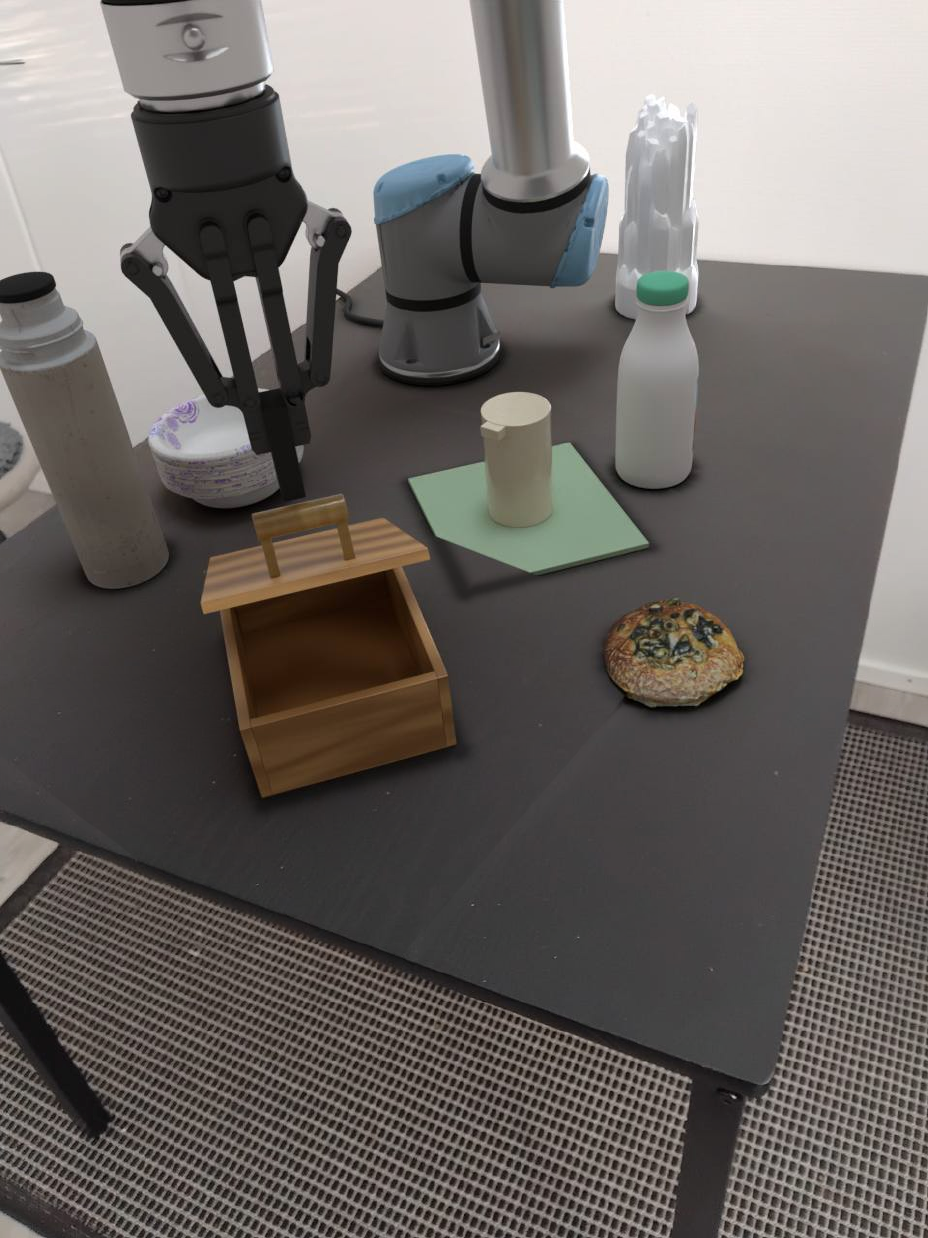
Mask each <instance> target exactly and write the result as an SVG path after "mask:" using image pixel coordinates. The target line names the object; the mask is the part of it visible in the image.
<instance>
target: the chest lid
mask: <svg viewBox="0 0 928 1238" xmlns="http://www.w3.org/2000/svg"><path fill="white" fill-rule="evenodd" d="M349 515H350V514H349V510H348V506H347V503H346V499H345V496H344V494H343V493H338V494H334V495H329V496H325V497H321V498H315V499H312V500H307V501H302V502H298V503H294V504H289V505H285V506H281V507H276V508H271V509H267V510H262V511H259V512H253V513H251V518H252V519H251V520H252V523H253V527H254V530H255V535H256V538H257V541H258V542H260V544H261V545H258V546H254V547H249V548H244V549H241V550H237V551H233V552H228V553H224V554H219V555H215V556H211V557H209V562H208V566H207V570H206V575H205V579H204V584H203V589H202V594H201V599H200V606H201V610H202V613H203V615H207V614H211V613H216V612H220V610H224V609H228V608H232V607H237V606H241V605H245V604H249V603H253V602H257V601H261V600H266V599H270V598H274V597H278V596H282V595H286V594H290V593H295V592H299V591H303V590H307V589H311V588H315V587H319V586H324V585H328V584H332V583H336V582H340V581H344V580H348V579H352V578H357V577H361V576H365V575H369V574H373V573H377V572H381V571H386V570H390V569H394V568H398V567H402V568H403V567H407V566H410V565H414V564H418V563H419V564H420V563H423V562H427V561H430V560H431V555H430V552H429V548H428V547H427V546H426V545H424V544H423V543H421V542H420V541H418V540H417V539H416V538H414V537H412V536H411V535H409V534H408V533H407V532H405V531H403V530H402V529H400V528H399V527H397V526H396V525H395V524H394V523H392V522H391V521H389V520H388V519H386V518H384V517H379V518H374V519H370V520H366V521H362V522H358V523H353V524H349V523H348V521H349V519H350V516H349ZM330 525H335V526H336V528H331V529H327V530H323V531H318V532H314V533H310V534H306V535H302V536H297V537H293V538H288V539H284V540H279V541H275V542H273V539H275V538H279V537H282V536H286V535H292V534H297V533H300V532H306V531H308V530H314V529H317V528H322V527H326V526H330Z"/></svg>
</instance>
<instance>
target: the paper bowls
mask: <svg viewBox="0 0 928 1238" xmlns="http://www.w3.org/2000/svg"><path fill="white" fill-rule="evenodd" d="M268 390H269V389H266V388H259V387H258V391H259V392H263V391H268ZM147 443H148V446H149V448H150V451H151V454H152V458H153V462H154V464H155V466H156V469H157V473H158V475H159V478H160V480H161V482H162V484H163V486H164V487H165V488H166V489H168V490H169V491H171V492H172V493H174V494H176V495H179V496H181V497H185V498H190V499H193V500H194V501H195V502H197V503H199V504H201V505H202V506H206V507H209V508H215V509H233V508H234V509H236V508H241V507H246V506H250V505H253V504H256V503H259V502H261V501H263V500H265V499H267V498H269V497H270V496H272V495H273V494H275V493H276V492H277V491H278V490H280V488H279V484H278V481H277V476H276V472H275V468H274V463H273V459H272V455H271V452H269V453H264V454H260V455H256V454H255V453H254V451H253V450H252V448H251V444H250V440H249V436H248V432H247V428H246V424H245V420H244V416H243V413H242V412H241V410H240V409H238V408H236V407H234V406H227V405H225V406H224V407H221V408H215V407H213V406H211V404H210V403H209V402H208V400H207V398H206V396H205V395H204V394H202V395H198V396H195V397H192V398H190V399H187V400H185V401H183V402H181V403H178V404H177V405H175V406H173V407H172V408H169V410H167V411H166V412H164V413H163V414H162V415H161V416H159V418H157V419H156V421H154V422H153V424H152V426H151V427H150V430H149V432H148V435H147ZM295 448H296V452H297V457H298V462H299V463H301V461H302V458H303V456H304V451H305V448H304V445H301V446H296V447H295Z"/></svg>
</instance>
